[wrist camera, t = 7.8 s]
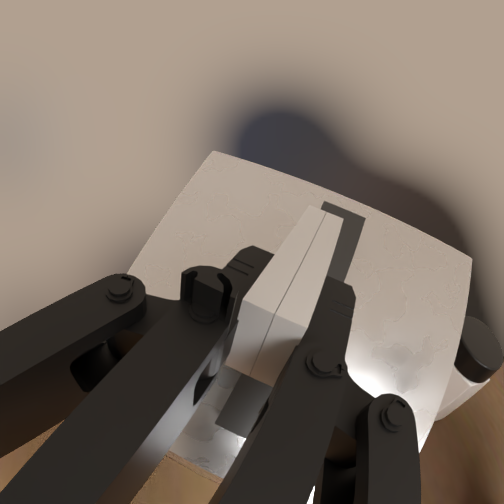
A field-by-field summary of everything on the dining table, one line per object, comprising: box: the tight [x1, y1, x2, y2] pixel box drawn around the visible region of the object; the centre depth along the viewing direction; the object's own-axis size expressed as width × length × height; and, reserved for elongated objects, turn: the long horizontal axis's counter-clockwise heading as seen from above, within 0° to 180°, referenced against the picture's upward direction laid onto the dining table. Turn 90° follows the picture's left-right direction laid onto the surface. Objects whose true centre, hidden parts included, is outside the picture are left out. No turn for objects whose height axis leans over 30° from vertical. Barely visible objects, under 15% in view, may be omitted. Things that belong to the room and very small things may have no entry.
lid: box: [127, 151, 472, 504], centre depth 13 cm, size 17×19×3 cm
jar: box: [434, 316, 503, 421], centre depth 24 cm, size 9×8×12 cm
